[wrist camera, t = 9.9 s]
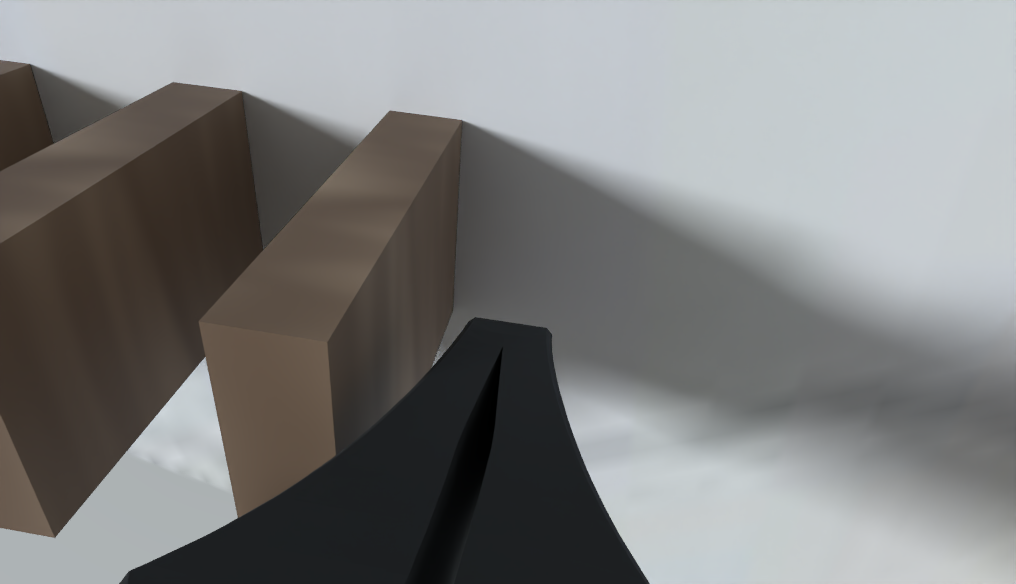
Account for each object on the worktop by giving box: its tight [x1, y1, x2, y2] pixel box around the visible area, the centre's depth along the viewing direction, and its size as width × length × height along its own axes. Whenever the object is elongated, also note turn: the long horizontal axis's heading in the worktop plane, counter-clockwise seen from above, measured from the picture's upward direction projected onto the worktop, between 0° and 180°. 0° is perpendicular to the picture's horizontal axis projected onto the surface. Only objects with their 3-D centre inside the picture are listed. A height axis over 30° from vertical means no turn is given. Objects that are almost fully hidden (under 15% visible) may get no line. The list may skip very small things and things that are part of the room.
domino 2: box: [199, 111, 462, 518], centre depth 13 cm, size 2×5×8 cm, turn 175°
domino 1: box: [0, 82, 263, 538], centre depth 13 cm, size 2×5×8 cm, turn 175°
